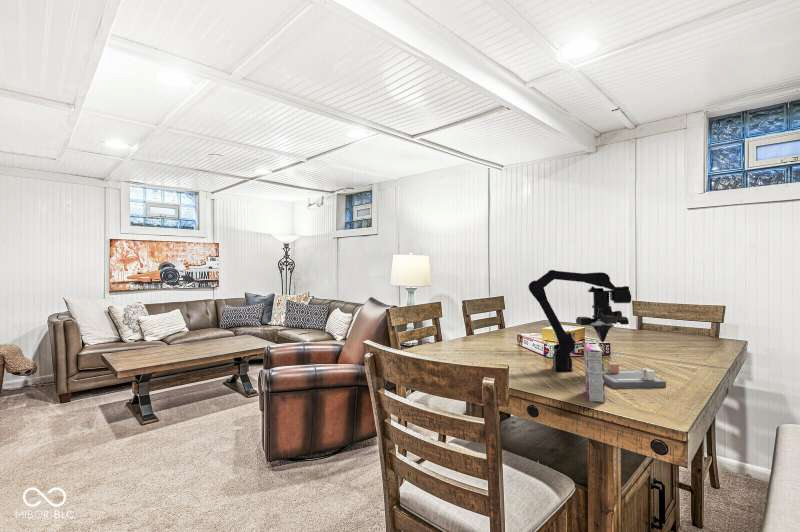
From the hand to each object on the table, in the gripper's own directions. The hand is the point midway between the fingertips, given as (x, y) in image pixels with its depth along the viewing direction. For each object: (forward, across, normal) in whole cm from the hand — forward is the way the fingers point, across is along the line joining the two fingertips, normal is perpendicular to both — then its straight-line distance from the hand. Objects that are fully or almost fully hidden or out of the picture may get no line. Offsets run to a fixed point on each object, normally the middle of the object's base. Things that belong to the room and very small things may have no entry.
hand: (602, 341), depth 161 cm
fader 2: (+10, +7, -19) cm, 22 cm away
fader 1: (+10, -1, -9) cm, 13 cm away
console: (+12, +2, -14) cm, 19 cm away
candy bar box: (+12, -18, -31) cm, 38 cm away
